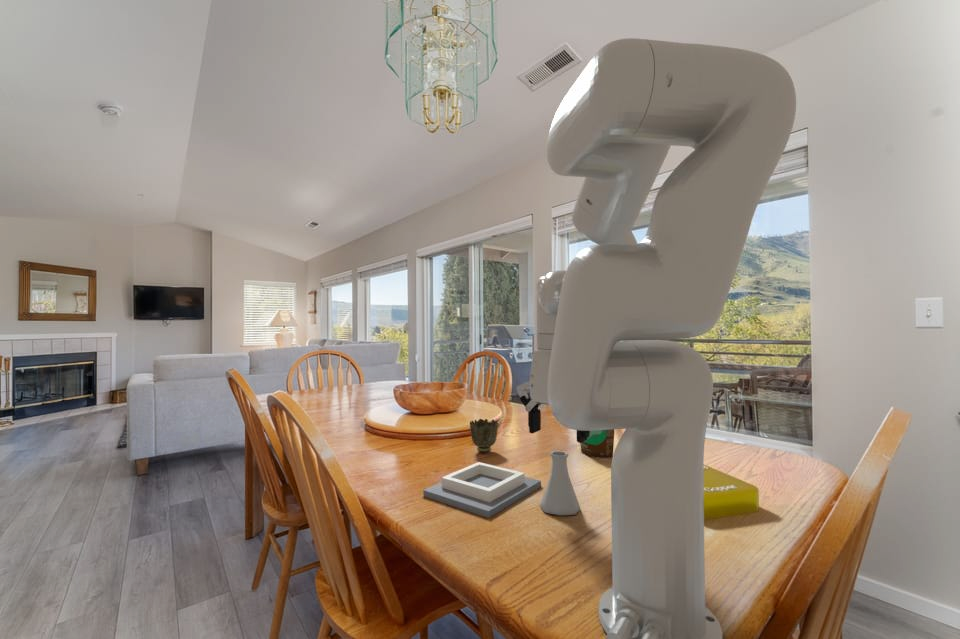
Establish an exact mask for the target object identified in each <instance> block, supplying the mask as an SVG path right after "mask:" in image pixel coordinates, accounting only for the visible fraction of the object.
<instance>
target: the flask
mask: <svg viewBox="0 0 960 639" xmlns="http://www.w3.org/2000/svg"><path fill="white" fill-rule="evenodd" d="M550 457H551V468H550V475H549V478H548V481H547V484H546V487H545V490H544V492H543V496H542V498H541V502H540V504H539V506H540V508H541V509H542V511H543V512H544V513H545V514H546V513H547V514H551V515H555V516H572V515H574V516H575V515H577V513H578V512H579V511H580V510H581V506H580V502H579V500H578V497H577V495H576V492H575V489H574V487H573V483H572V480H571V477H570V475H569V469H568V463H567V462H568V461H567V459H568V457H569V453H568V452H567V451H561V450H553V451H551V452H550Z"/></svg>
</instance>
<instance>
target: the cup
mask: <svg viewBox="0 0 960 639" xmlns="http://www.w3.org/2000/svg"><path fill="white" fill-rule="evenodd" d="M469 426H470V435H471V436H470V437H471V440H472V443H473V445H475V446H476V447H477V448H476V450H477V452H478V453H479V454H483V453H485V454H489V453H490V452H491V451H492V447H493V446H494V445H495V443H496V440H497V437H498V428H499V427H498V426H499V422H498V420H495V419H491V421H489V420H488V419H487V418H485V419H482V418H479V419H478V420H476V419H474V420H471V421H470V422H469Z"/></svg>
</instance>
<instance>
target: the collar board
mask: <svg viewBox="0 0 960 639" xmlns="http://www.w3.org/2000/svg"><path fill="white" fill-rule="evenodd" d="M537 488H538V489H539V488H542V480H539V479H536V478H532V477H528V476H526V475H525V472H522V471H517V470H513V469H509V468H505V467H501V466H498V465H497V466H496V465H493V464H489V463H485V462H480V461H478V462H475V463H472V464H471V465H468V466H466V467H463V468H462V469H459V470H456V471H454V472H451V473H449V474H446V475H445V476H443V477H441V482H439V483H437V484H434V485H431V486H430V487H427V488H425V489H423V492H422V494H423V497H425V498H428V499H431V500H434V501H437V502H440V503H442V504H445V505H449V506H452V507H454V508H457V509H461V510H463V511H466V512H470V513H472V514H475V515H477V516H481V517H483V518H486V519H487V518H488V519H489V518H491V517H494V516H495V515H496V514H498V513H499V512H501V511H502V510H505V509H506V508H507V507H510V506H511V505H513V504H514V503H516V502H518V501H519V500H521V499H522V498H525V497H526V496H527V495H529V494H532V493H533V492H534V491H536V490H538V489H537ZM532 491H533V492H532ZM504 508H505V509H504Z"/></svg>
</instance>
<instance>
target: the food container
mask: <svg viewBox="0 0 960 639" xmlns="http://www.w3.org/2000/svg"><path fill="white" fill-rule="evenodd" d="M615 430H616V429H611V430H593V431H590V434H589V437H588V439H587V440H585V441H584V442H582V443H579V444H580V452H581V454H583V455H584V454H585V456H587V455H588V457H592V458H597V457H599V459H610V458H613V454H614V448H615V447H614V446H615V445H614V444H615ZM609 457H610V458H609Z"/></svg>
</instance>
